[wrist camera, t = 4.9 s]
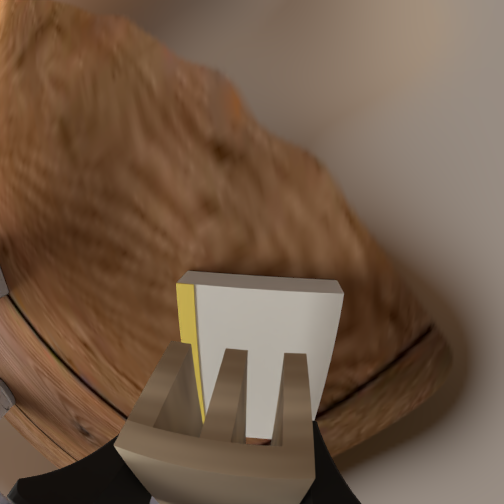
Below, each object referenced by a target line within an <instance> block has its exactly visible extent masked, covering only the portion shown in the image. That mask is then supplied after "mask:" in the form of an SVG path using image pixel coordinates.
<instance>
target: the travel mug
mask: <svg viewBox="0 0 504 504" xmlns="http://www.w3.org/2000/svg"><path fill="white" fill-rule="evenodd" d="M14 404H15V398H14V396H13V394H12V393H11V391H10V390H9V388H8V387H7V386H6V384H5V383H4V382H3V381H2V380H1V379H0V419H1V418H2V417H3V416H4V415H5V414H6V413H7V412H8V410H9V409H10V408H11V407H12V406H13V405H14Z"/></svg>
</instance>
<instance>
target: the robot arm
mask: <svg viewBox="0 0 504 504" xmlns="http://www.w3.org/2000/svg"><path fill="white" fill-rule="evenodd" d="M312 424H313V440H314V458H315V480H314V481H313V483H312V485H311V486H310V488H309V490H308V491H307V493H306V494H305V496H304V497H303V499H302V500H301V502H300V504H361V503H360V501H359V500H358V499H357V498H356V496H355V495H354V494H353V493H352V491H351V490H350V488H349V487H348V485H347V484H346V482H345V480H344V479H343V477H342V476H341V474H340V472H339V471H338V469H337V467H336V465H335V463H334V461H333V459H332V458H331V456H330V454H329V452H328V449H327V447H326V445H325V443H324V440H323V438H322V435H321V433H320V430H319V427H318V424H317V422H316V421H312ZM118 436H119V434H118V435H117V436H116V437H115V438H113V439H112V440H111V441H109V442H108V443H107V444H105V445H104V446H103V447H101V448H100V449H98V450H97V451H95V452H93V453H92V454H90V455H88V456H87V457H85V458H83V459H81V460H79V461H77V462H75V463H73V464H71V465H68V466H66V467H64V468H61V469H58V470H55V471H52V472H49V473H46V474H42V475H38V476H33V477H27V478H21V479H19V480H18V481H17V482H16V484H15V485H14V487H13V488H12V490H11V491H10V492H9V494H8V495H7V497H8V498H7V497H5V496H4V495H3V494H2V493H1V492H0V504H159V503H158V502H157V501H156V499H155V498H154V497H153V496H152V495H151V494H150V493H149V492H148V490H147V489H146V488H145V487H144V486H143V484H142V483H141V482H140V481H139V479H138V478H137V477H136V476H135V474H134V473H133V472H132V471H131V469H130V468H129V467H128V465H127V464H126V463H125V461H124V460H123V458H122V457H121V456H120V454H119V453H118V451H117V450H116V448H115V447H114V443H115V441H116V440H117V438H118Z"/></svg>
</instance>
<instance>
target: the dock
mask: <svg viewBox="0 0 504 504" xmlns="http://www.w3.org/2000/svg"><path fill="white" fill-rule="evenodd" d="M176 289H177V302H178V314H179V325H180V335H181V342H182V343H189V344H191V346H192V355H193V362H194V370H195V377H196V384H197V390H198V397H199V403H200V409H201V415H202V421H203V424H204V421H205V417H206V414H207V410H208V407H209V404H210V400H211V397H212V393H213V390H214V387H215V383H216V380H217V376H218V373H219V369H220V366H221V363H222V359H223V356H224V352H225V349H226V348H230V349H240V350H248V363H247V403H246V437H251V438H264V439H272V434H273V428H274V422H275V416H276V409H277V402H278V396H279V388H280V381H281V374H282V366H283V359H284V353H306V354H307V364H308V375H309V386H310V398H311V410H312V421H314V420H315V417H316V413H317V410H318V407H319V403H320V400H321V396H322V392H323V389H324V385H325V381H326V377H327V373H328V369H329V365H330V361H331V357H332V353H333V348H334V344H335V339H336V334H337V329H338V324H339V319H340V314H341V309H342V303H343V297H344V292H343V291H342V289H341V287H340V285H339V283H338V281H337V280H323V279H304V278H286V277H269V276H253V275H239V274H224V273H211V272H198V271H187V272H186V273H185V274H184V275H183V276H182V278H181V279H180V280H179V281H178V282H177V283H176Z"/></svg>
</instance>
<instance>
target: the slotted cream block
mask: <svg viewBox="0 0 504 504" xmlns="http://www.w3.org/2000/svg"><path fill="white" fill-rule="evenodd" d="M247 363H248V350H240V349H230V348H226V349H225V352H224V356H223V359H222V363H221V366H220V369H219V373H218V376H217V380H216V383H215V387H214V390H213V393H212V397H211V400H210V404H209V407H208V410H207V414H206V417H205V421H204V424H203V421H202V415H201V409H200V403H199V397H198V390H197V384H196V377H195V370H194V362H193V355H192V346H191V344H189V343H182V342H175V341H171V342H170V344H169V346H168V347H167V349H166V351H165V352H164V354H163V356H162V358H161V360H160V361H159V363H158V365H157V367H156V368H155V370H154V372H153V374H152V375H151V377H150V379H149V381H148V383H147V384H146V386H145V388H144V390H143V392H142V393H141V395H140V397H139V399H138V401H137V402H136V404H135V406H134V408H133V410H132V412H131V413H130V415H129V417H128V419H127V421H126V423H125V425H124V426H123V428H122V430H121V432H120V434H119V436H118V438H117V440H116V441H115V443H114V447H115V448H116V450H117V451H118V453H119V454H120V456H121V457H122V458H123V460H124V461H125V463H126V464H127V465H128V467H129V468H130V469H131V471H132V472H133V473H134V474H135V476H136V477H137V478H138V479H139V481H140V482H141V483H142V484H143V486H144V487H145V488H146V489H147V490H148V492H149V493H150V494H151V495H152V496H153V497H154V498H155V499H156V501H157V502H158V503H159V504H300V502H301V500H302V499H303V497H304V496H305V494H306V493H307V491H308V490H309V488H310V486H311V485H312V483H313V481H314V480H315V458H314V440H313V424H312V410H311V398H310V386H309V375H308V364H307V354H306V353H284V359H283V366H282V374H281V381H280V388H279V396H278V402H277V409H276V416H275V422H274V428H273V434H272V440H271V446H262V445H250V444H246V403H247Z"/></svg>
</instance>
